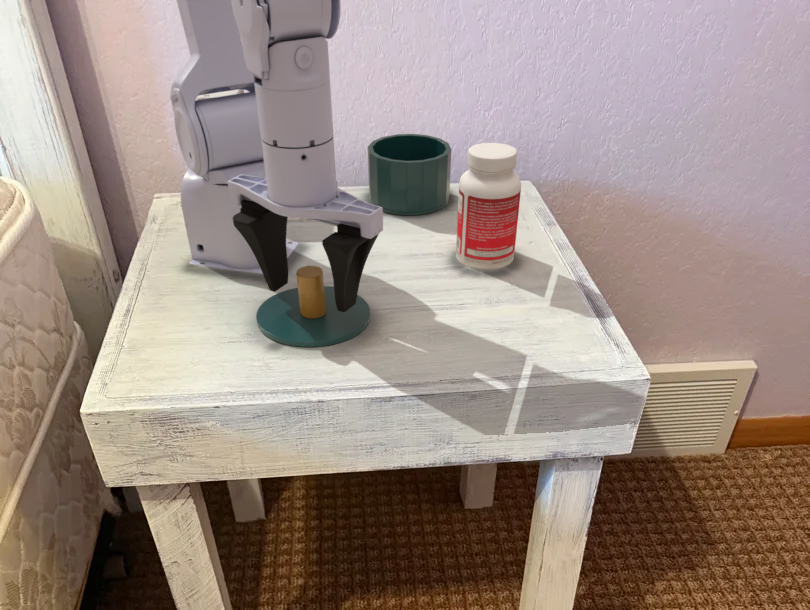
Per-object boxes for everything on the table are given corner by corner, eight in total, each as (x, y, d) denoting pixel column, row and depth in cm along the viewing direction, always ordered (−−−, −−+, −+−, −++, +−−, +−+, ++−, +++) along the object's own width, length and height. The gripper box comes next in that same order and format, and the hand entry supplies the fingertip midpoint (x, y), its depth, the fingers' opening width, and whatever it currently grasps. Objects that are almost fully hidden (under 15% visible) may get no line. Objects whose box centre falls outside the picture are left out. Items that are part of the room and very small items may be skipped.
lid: (239, 343, 69) (230, 291, 65) (282, 290, 76) (276, 240, 73) (350, 360, 67) (347, 307, 64) (384, 303, 74) (383, 253, 71)
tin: (359, 210, 90) (357, 157, 86) (382, 181, 97) (381, 130, 93) (438, 219, 88) (440, 165, 84) (456, 188, 95) (458, 137, 91)
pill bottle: (525, 264, 80) (538, 153, 72) (479, 279, 78) (487, 166, 70) (489, 243, 84) (497, 135, 76) (443, 257, 82) (448, 146, 74)
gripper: (401, 137, 60) (402, 297, 70) (255, 108, 65) (275, 261, 75) (353, 165, 56) (360, 331, 65) (201, 132, 61) (228, 291, 70)
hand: (312, 296), depth 70 cm, fingers open, 7 cm apart
